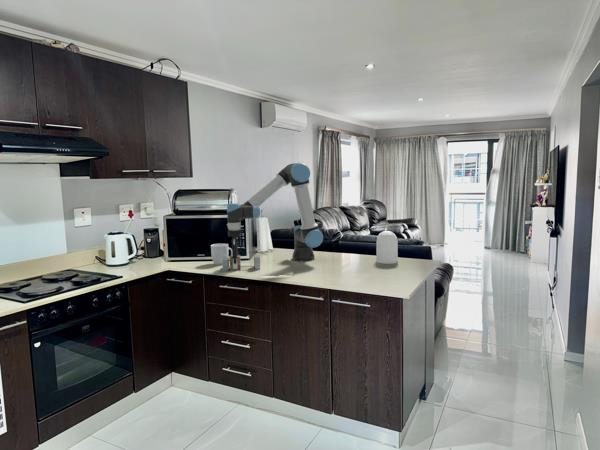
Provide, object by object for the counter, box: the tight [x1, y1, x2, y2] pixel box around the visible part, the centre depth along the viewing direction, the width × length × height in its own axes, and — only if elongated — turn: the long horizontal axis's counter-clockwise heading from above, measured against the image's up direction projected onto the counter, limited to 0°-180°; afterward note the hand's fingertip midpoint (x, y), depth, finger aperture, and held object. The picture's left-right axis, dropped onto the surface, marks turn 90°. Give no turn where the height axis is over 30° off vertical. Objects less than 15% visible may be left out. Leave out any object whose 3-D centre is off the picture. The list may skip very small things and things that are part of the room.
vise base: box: [218, 265, 261, 274], centre depth 249 cm, size 25×12×2 cm, turn 96°
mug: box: [210, 243, 233, 266], centre depth 268 cm, size 15×11×13 cm
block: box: [229, 254, 242, 271], centre depth 248 cm, size 6×6×8 cm
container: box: [375, 230, 399, 265], centre depth 265 cm, size 14×13×20 cm
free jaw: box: [253, 254, 261, 270], centre depth 250 cm, size 3×8×7 cm, turn 6°
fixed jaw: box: [221, 256, 230, 272], centre depth 248 cm, size 3×8×7 cm, turn 6°
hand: (235, 267), depth 249 cm, fingers closed on block, 6 cm apart
